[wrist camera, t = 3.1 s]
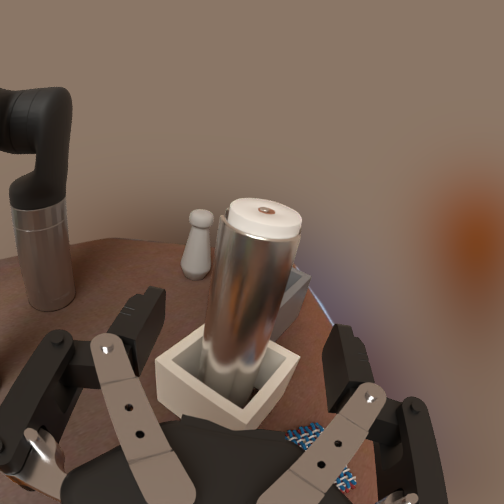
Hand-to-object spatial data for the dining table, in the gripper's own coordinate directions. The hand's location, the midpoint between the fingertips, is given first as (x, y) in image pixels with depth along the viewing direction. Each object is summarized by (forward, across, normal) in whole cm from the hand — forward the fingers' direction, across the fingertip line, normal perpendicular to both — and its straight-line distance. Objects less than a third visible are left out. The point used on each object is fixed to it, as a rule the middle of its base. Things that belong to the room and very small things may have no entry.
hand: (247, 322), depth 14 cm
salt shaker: (+38, +10, +23) cm, 46 cm away
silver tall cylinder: (+12, 0, +23) cm, 26 cm away
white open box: (+12, 0, +23) cm, 26 cm away
